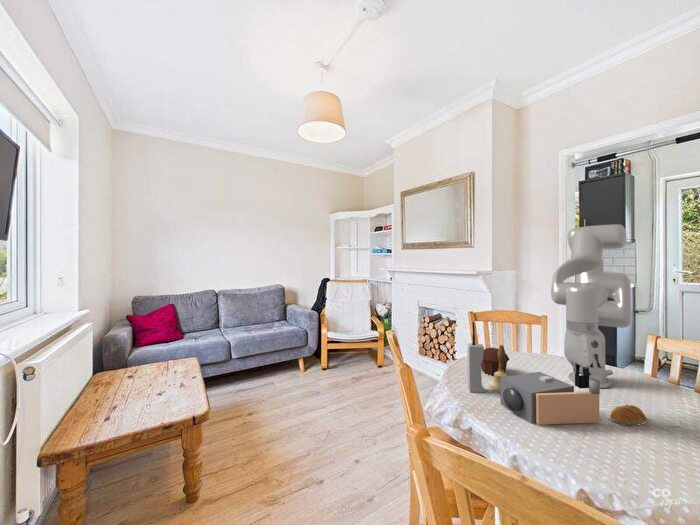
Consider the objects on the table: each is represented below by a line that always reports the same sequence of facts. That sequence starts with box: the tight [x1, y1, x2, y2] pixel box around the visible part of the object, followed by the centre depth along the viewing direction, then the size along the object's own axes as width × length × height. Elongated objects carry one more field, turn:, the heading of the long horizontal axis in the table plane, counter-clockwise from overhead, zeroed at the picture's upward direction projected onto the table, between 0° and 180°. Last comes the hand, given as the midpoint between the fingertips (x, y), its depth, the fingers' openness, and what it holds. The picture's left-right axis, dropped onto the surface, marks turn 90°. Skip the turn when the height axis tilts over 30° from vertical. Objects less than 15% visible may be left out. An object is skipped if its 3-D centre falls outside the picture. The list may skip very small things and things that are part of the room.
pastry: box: [609, 404, 649, 426], centre depth 87 cm, size 9×7×4 cm
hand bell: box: [488, 344, 509, 393], centre depth 109 cm, size 8×8×16 cm
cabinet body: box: [500, 371, 575, 425], centre depth 94 cm, size 18×12×10 cm
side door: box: [535, 379, 601, 425], centre depth 85 cm, size 18×2×12 cm, turn 92°
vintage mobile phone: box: [466, 321, 485, 394], centre depth 108 cm, size 4×5×25 cm
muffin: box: [481, 347, 510, 377], centre depth 124 cm, size 12×11×10 cm
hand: (582, 387), depth 89 cm, fingers closed
